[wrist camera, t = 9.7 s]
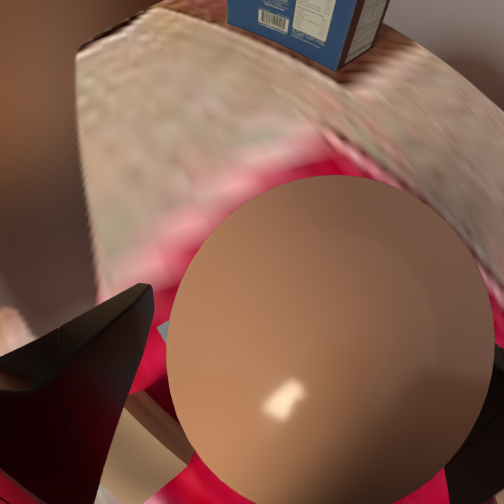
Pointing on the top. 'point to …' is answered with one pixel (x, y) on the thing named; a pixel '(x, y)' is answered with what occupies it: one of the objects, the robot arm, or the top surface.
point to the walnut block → (144, 451)
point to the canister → (330, 344)
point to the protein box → (313, 25)
